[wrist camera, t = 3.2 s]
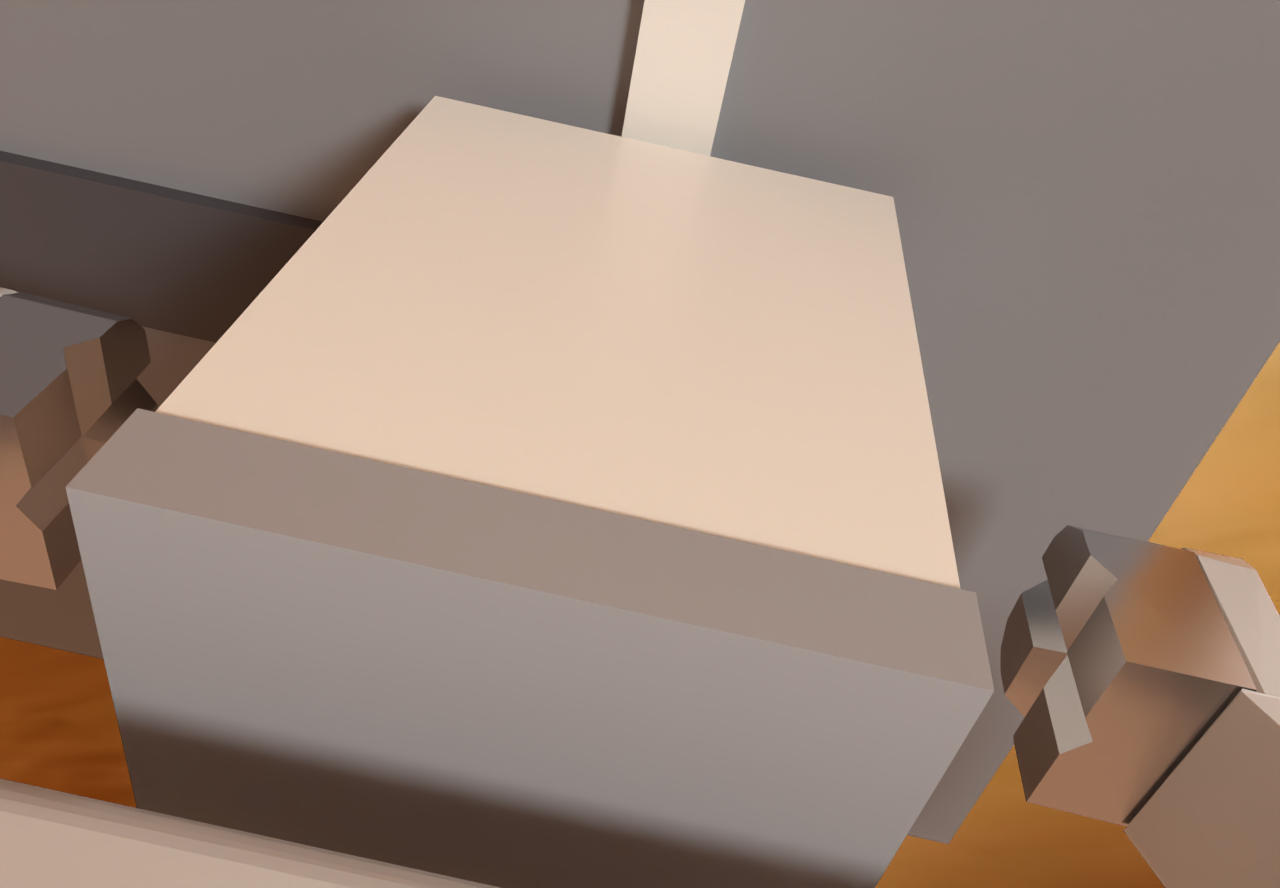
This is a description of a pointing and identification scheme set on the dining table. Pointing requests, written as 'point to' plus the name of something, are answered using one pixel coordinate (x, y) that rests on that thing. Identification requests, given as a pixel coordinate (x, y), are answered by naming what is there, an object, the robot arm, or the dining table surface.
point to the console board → (740, 132)
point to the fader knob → (549, 530)
